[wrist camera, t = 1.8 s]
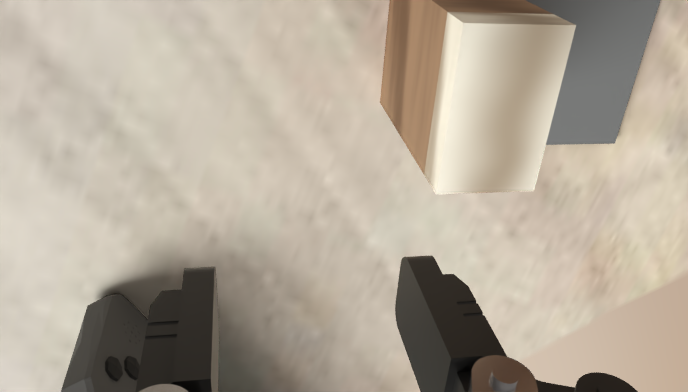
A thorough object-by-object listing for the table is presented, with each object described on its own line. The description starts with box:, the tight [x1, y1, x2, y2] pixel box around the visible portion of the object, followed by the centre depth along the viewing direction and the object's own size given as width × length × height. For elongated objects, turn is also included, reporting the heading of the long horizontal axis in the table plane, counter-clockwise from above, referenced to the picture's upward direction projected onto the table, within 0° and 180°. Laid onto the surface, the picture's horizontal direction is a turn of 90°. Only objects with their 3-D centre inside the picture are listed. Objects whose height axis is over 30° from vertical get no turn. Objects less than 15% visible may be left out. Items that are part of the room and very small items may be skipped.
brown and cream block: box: [380, 0, 576, 194], centre depth 31 cm, size 5×8×12 cm, turn 177°
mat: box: [526, 0, 660, 145], centre depth 38 cm, size 12×14×1 cm
